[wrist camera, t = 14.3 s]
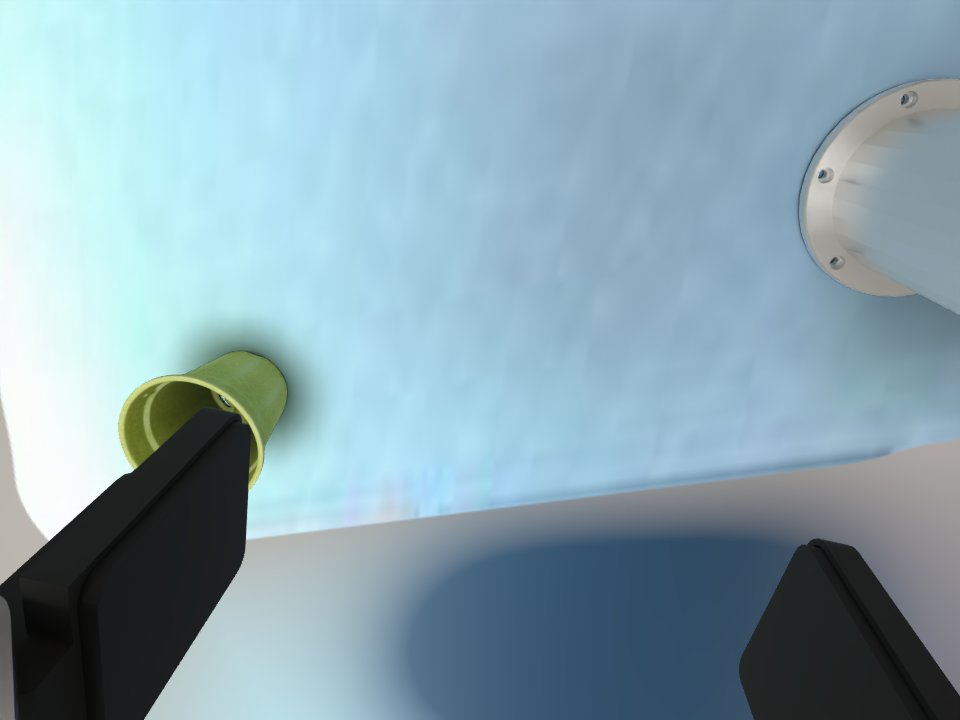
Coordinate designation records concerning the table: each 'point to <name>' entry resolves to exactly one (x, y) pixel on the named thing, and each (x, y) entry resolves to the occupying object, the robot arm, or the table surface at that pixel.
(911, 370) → the table surface
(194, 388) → the plant pot
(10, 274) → the table surface
